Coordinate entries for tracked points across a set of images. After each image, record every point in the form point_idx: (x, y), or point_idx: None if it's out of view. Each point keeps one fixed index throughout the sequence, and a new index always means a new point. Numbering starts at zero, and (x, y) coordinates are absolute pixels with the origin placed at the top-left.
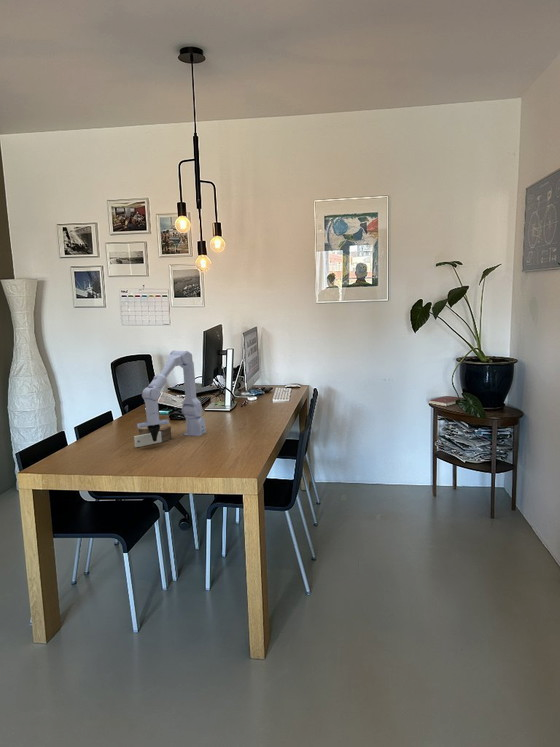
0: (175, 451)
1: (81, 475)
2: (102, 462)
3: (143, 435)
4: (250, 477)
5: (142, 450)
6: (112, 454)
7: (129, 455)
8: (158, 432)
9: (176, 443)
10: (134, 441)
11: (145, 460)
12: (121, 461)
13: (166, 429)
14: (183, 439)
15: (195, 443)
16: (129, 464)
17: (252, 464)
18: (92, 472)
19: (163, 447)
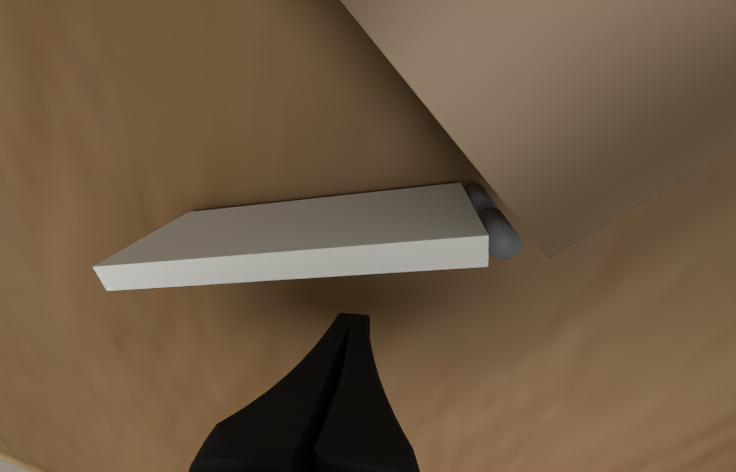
0: (458, 445)
1: (11, 462)
2: (38, 378)
3: (216, 282)
4: None
5: (256, 310)
6: (44, 273)
7: (171, 356)
8: (442, 266)
9: (570, 297)
10: (147, 237)
11: None
12: (141, 417)
13: (663, 155)
14: (730, 204)
15: (696, 387)
16: (188, 467)
17: None
18: (44, 459)
19: (421, 333)
